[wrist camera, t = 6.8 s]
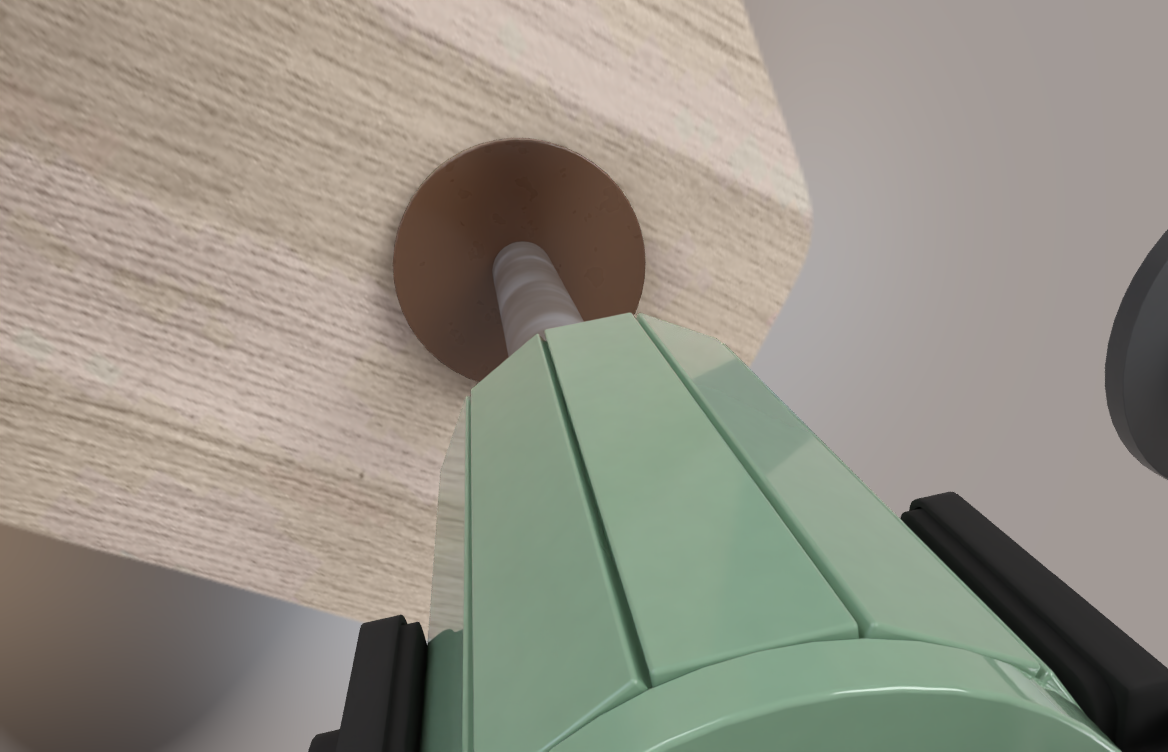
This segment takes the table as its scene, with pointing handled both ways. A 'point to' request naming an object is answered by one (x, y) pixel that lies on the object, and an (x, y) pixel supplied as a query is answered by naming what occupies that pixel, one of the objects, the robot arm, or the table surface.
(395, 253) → the towel stand
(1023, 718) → the green cup
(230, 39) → the table surface
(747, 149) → the table surface
